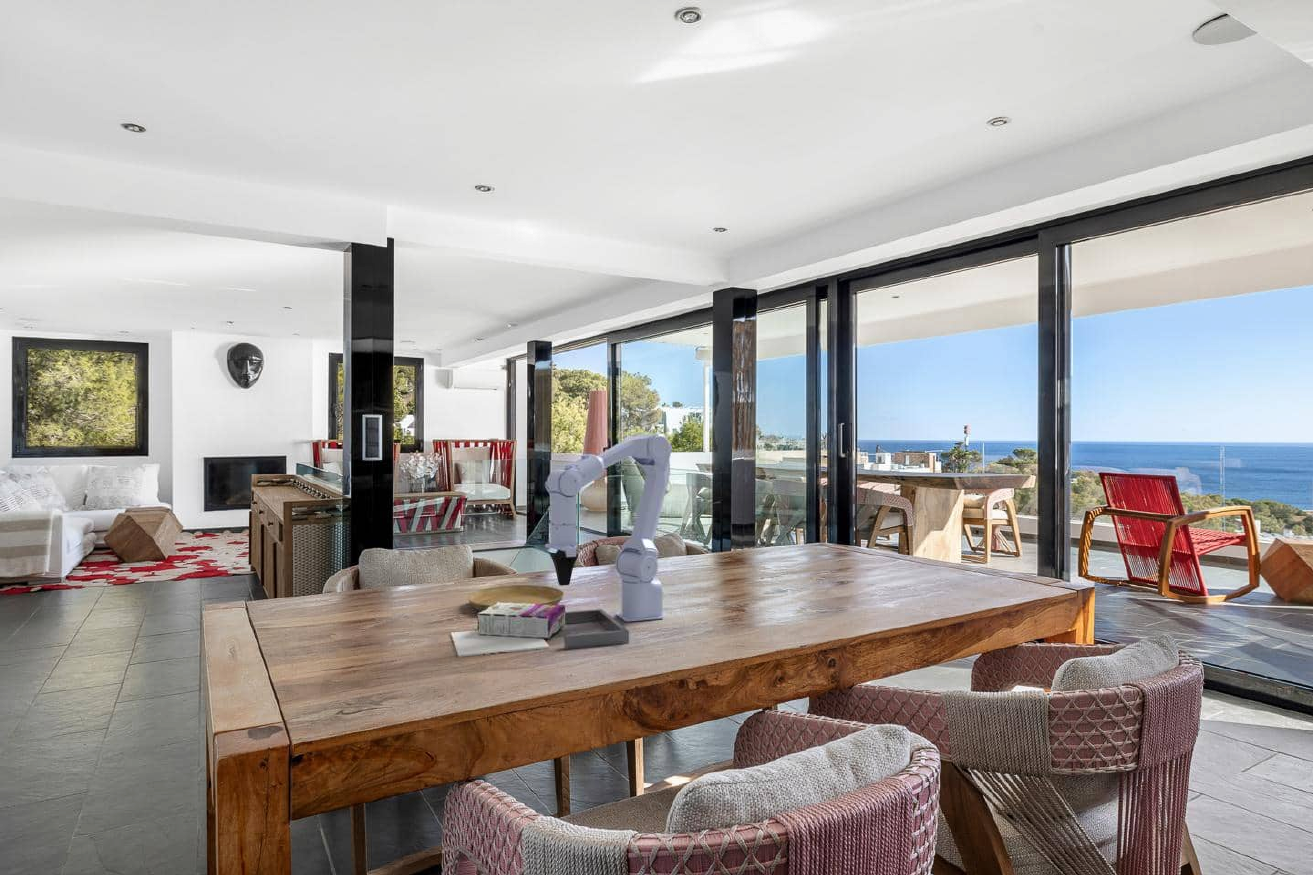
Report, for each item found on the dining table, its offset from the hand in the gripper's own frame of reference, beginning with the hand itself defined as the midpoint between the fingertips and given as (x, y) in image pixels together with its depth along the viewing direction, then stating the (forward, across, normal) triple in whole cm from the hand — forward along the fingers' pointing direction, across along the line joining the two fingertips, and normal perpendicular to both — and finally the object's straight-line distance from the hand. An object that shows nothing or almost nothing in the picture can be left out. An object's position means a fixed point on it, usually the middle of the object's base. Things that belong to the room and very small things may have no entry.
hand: (564, 584), depth 167 cm
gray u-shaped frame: (+10, +4, +4) cm, 11 cm away
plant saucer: (+11, -29, -6) cm, 31 cm away
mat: (+10, +3, -15) cm, 18 cm away
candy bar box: (+8, +3, -2) cm, 8 cm away
